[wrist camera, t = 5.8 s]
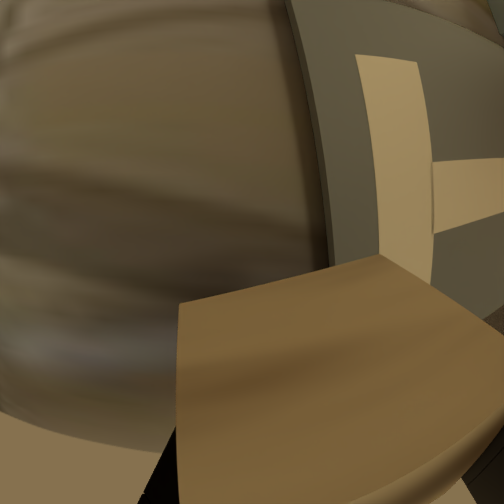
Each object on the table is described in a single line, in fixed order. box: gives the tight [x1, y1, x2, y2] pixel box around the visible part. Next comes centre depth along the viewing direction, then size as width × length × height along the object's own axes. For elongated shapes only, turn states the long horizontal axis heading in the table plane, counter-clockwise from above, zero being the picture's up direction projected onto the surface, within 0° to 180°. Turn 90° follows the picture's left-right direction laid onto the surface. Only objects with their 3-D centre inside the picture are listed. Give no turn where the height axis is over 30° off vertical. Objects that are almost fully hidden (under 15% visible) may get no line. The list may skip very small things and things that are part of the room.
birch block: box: [176, 254, 504, 504], centre depth 6 cm, size 6×6×6 cm
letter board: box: [284, 0, 504, 320], centre depth 11 cm, size 18×18×1 cm
